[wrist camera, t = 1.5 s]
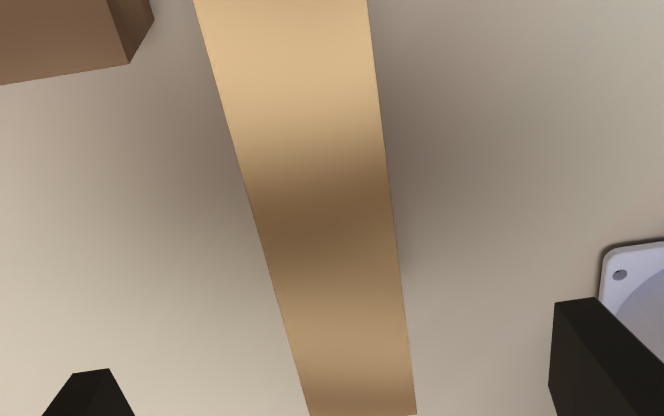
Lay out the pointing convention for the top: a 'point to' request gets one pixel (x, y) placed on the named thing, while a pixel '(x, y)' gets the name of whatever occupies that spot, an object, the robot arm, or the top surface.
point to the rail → (318, 191)
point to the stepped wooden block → (68, 36)
